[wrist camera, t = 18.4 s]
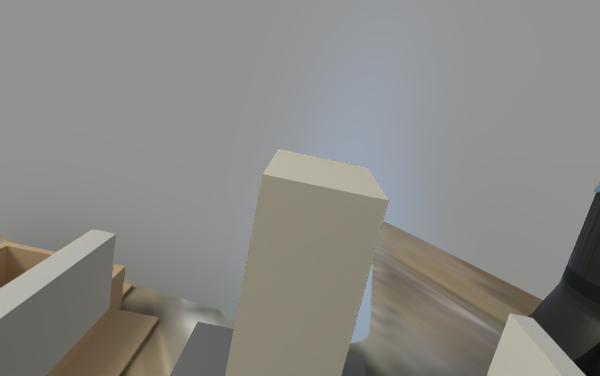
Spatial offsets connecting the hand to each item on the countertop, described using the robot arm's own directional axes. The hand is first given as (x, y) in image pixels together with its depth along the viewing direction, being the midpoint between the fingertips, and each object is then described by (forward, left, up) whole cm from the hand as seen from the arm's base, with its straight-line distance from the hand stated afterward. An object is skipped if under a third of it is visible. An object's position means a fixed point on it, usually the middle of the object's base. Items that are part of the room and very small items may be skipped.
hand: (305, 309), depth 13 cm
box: (0, -10, -13) cm, 17 cm away
